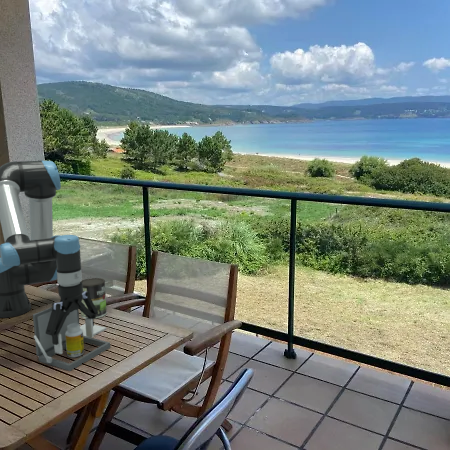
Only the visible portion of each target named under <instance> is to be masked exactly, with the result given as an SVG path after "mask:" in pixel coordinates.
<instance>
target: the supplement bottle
mask: <svg viewBox="0 0 450 450" xmlns="http://www.w3.org/2000/svg"><path fill="white" fill-rule="evenodd" d="M80 326H81V324H80V323H79V324H78V323H72V324H69V325H68V326H67V331H66V333H65V338H66V349H65V350H66V355H67V357H69V358H80V357H82V356H83V355H84V353H85V344H84V343H85V342H84V341H83V330H82V329H80Z"/></svg>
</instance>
